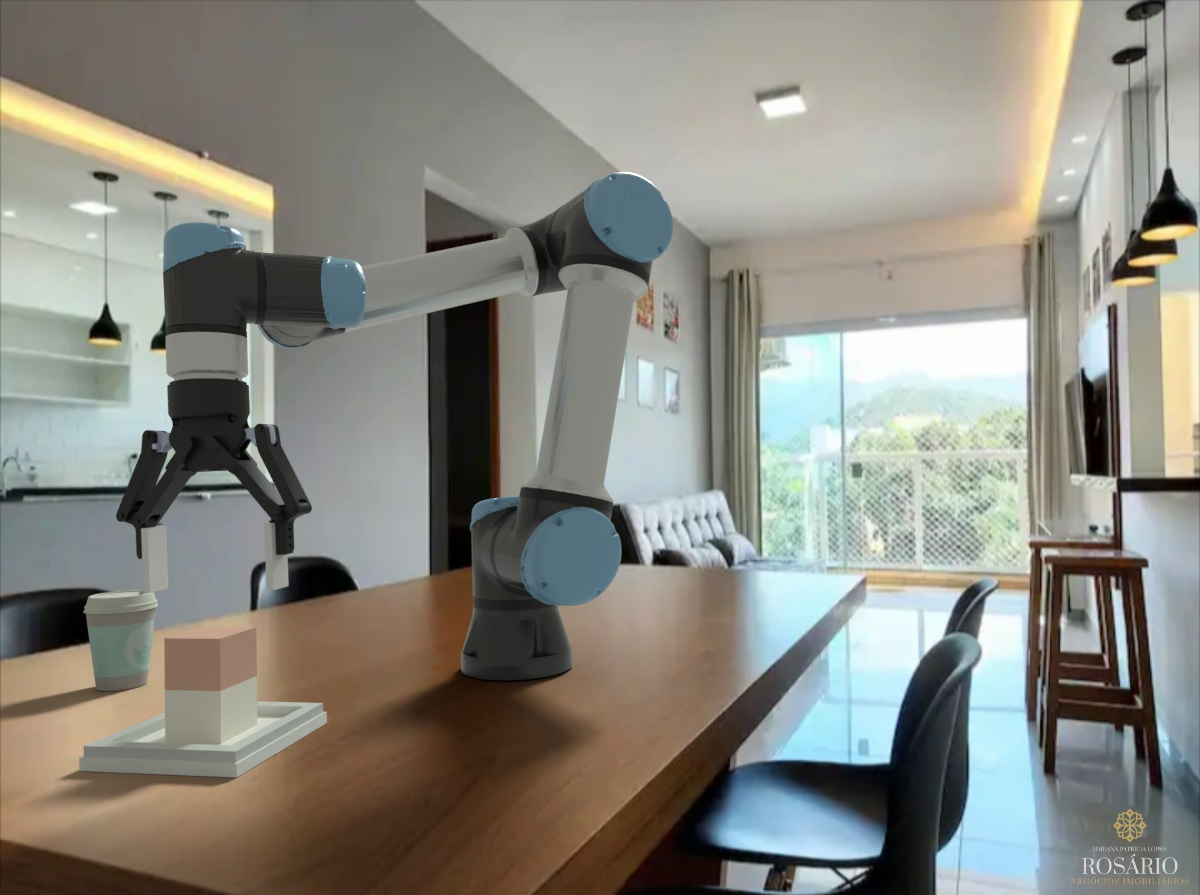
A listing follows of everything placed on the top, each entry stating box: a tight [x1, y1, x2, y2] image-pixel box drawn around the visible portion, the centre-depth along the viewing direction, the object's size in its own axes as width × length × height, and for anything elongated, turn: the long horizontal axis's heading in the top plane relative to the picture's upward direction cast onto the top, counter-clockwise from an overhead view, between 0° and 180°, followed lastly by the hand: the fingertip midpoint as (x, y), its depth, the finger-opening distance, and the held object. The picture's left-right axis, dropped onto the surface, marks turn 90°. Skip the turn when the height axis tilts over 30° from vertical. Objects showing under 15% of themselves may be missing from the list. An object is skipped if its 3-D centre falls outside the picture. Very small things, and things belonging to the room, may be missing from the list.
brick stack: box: [163, 626, 258, 744], centre depth 82 cm, size 6×6×10 cm
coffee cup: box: [82, 589, 159, 692], centre depth 108 cm, size 8×8×12 cm
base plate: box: [78, 700, 328, 778], centre depth 82 cm, size 16×16×2 cm
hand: (216, 590), depth 83 cm, fingers open, 13 cm apart
